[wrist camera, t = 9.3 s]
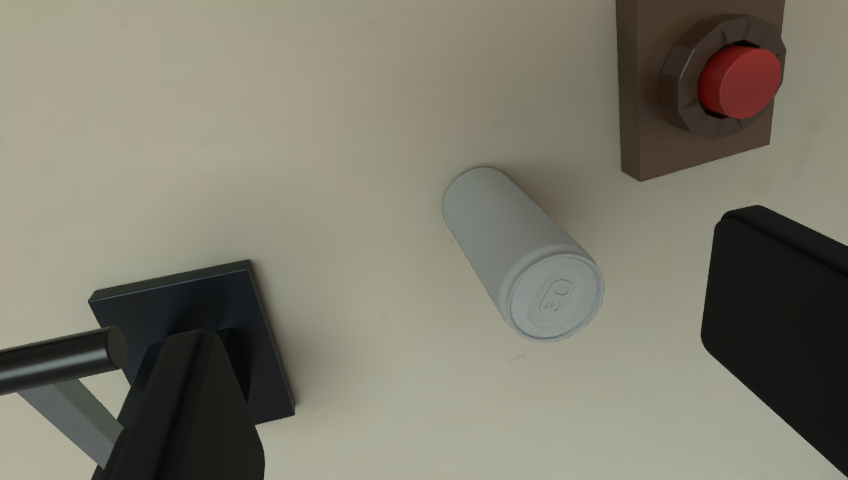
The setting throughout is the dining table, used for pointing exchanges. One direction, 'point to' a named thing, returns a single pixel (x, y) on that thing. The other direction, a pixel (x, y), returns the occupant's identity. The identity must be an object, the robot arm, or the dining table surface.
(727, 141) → the button block
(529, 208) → the beverage can
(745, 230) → the robot arm
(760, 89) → the button
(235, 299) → the bracket
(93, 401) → the lever
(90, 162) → the dining table surface
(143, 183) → the dining table surface
